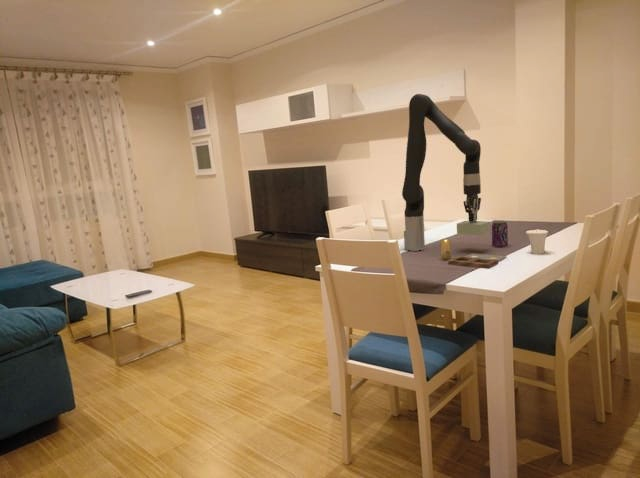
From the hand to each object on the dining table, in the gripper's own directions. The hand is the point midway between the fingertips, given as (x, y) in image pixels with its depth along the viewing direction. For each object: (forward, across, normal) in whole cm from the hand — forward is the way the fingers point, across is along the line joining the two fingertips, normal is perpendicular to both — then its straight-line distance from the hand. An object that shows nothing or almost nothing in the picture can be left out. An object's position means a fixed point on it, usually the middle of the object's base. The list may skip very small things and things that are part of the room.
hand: (472, 220), depth 215 cm
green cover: (+6, 0, 0) cm, 6 cm away
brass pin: (+15, +19, -4) cm, 25 cm away
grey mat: (+15, +12, +10) cm, 21 cm away
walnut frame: (+15, +22, +10) cm, 28 cm away
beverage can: (+15, -16, +6) cm, 23 cm away
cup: (+15, -8, +26) cm, 31 cm away
